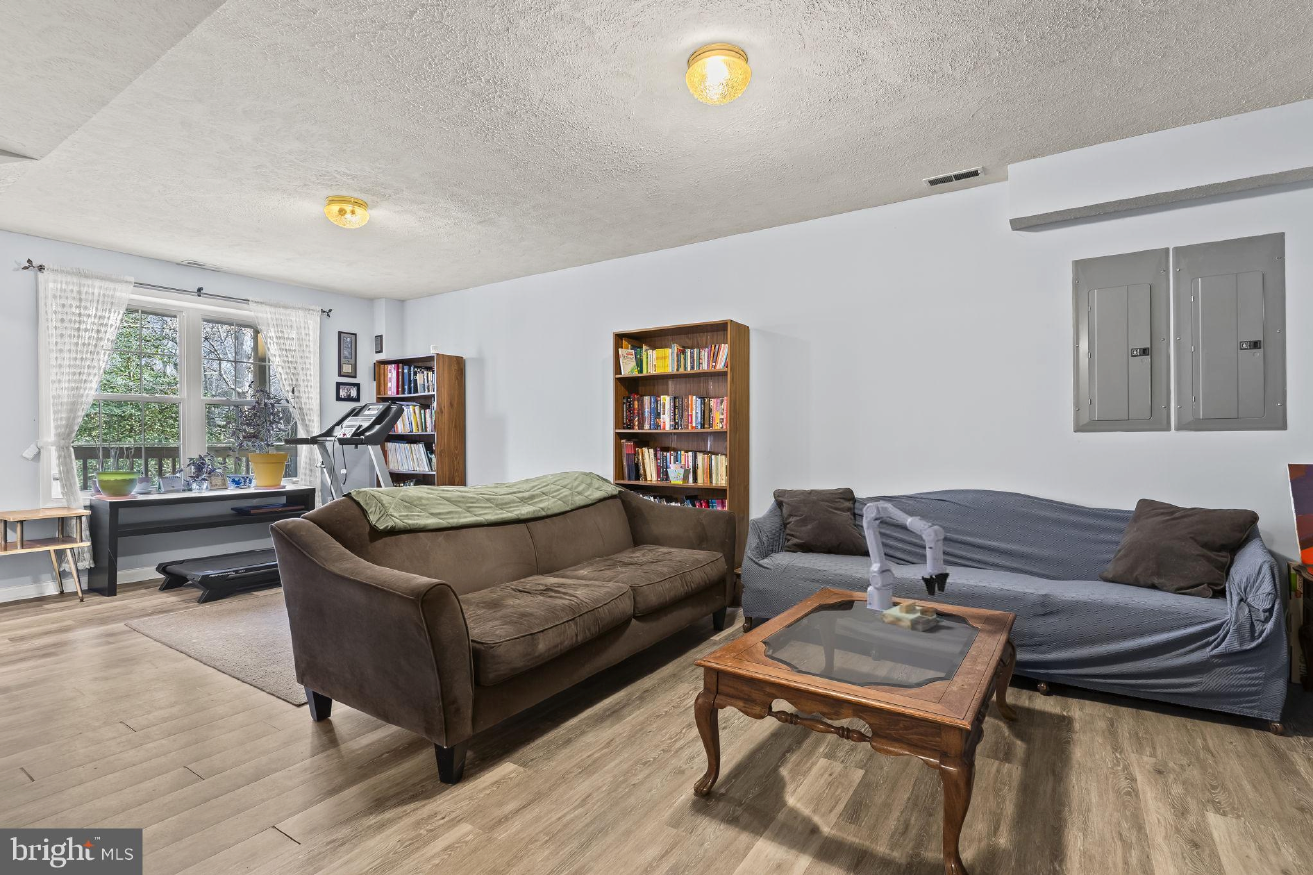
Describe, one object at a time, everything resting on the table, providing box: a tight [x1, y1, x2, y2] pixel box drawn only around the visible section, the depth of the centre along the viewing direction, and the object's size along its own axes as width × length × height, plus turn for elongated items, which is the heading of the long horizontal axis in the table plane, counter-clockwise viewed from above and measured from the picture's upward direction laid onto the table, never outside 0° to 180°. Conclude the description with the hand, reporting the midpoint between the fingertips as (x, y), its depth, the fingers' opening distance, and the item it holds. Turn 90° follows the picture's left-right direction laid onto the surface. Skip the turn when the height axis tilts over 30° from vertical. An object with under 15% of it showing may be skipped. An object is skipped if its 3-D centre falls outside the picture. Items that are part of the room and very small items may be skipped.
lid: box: [881, 599, 937, 620], centre depth 240 cm, size 16×16×5 cm
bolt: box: [920, 606, 937, 617], centre depth 236 cm, size 4×4×2 cm
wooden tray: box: [881, 613, 938, 633], centre depth 240 cm, size 16×17×4 cm
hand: (936, 593), depth 240 cm, fingers open, 7 cm apart
